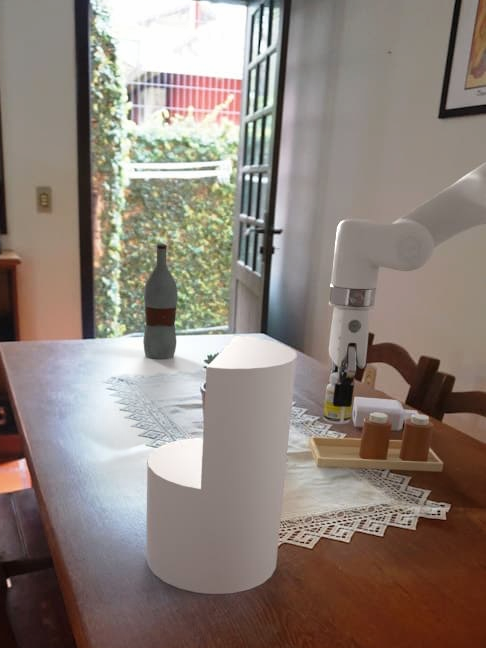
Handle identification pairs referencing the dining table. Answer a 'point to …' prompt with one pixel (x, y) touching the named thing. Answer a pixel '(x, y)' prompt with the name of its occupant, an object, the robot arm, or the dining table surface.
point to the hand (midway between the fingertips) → (339, 400)
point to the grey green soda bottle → (160, 310)
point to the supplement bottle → (334, 412)
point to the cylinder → (225, 476)
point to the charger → (380, 411)
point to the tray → (347, 456)
